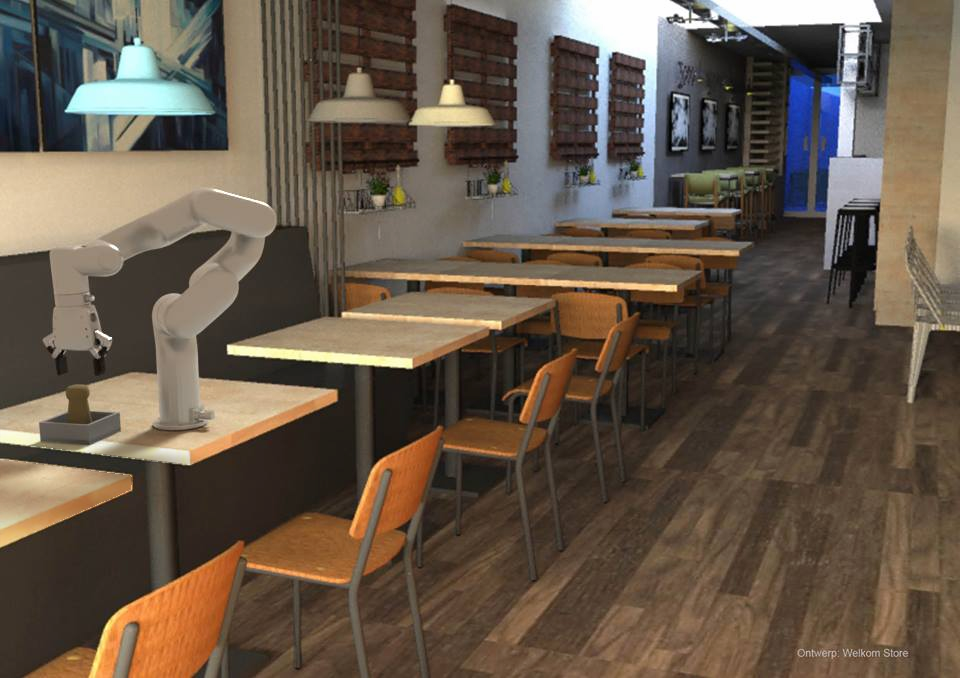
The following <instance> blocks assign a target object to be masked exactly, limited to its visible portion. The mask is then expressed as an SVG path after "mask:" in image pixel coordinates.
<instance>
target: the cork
mask: <svg viewBox="0 0 960 678" xmlns="http://www.w3.org/2000/svg"><path fill="white" fill-rule="evenodd" d="M90 393H91V391H90V388H89V387H88V385H86V384H82V383H81V384H72V385H69V386H67V387H66V389H65V397H66V399H67V400H68V406H67V411H68V418H67V423H72V424H90V423H92V418H91V413H90V411H91V410H90V405H89V404H90V403H89V400H88V399H89V397H90Z"/></svg>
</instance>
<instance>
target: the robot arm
mask: <svg viewBox="0 0 960 678" xmlns="http://www.w3.org/2000/svg"><path fill="white" fill-rule="evenodd" d="M205 226H210V227H214V228H217V229H221V230H224V231H228V232H231V233H230V237H229V238H228V240H227V242H226V243H225V244H224V245H223V246H222V247H221V248H220V249H219V250H218V251H217V252H216V253H215V254H214V255H212V256H211V257H210V258H209V259H207V261H206V262H204V263H203V264H201V266H199V267H198V268H197V269H196V270H195V271H194V272H193V273H192V274H191V276H190V277H189V281H188V288H186V290H184V292H183V293H181V294H180V293H173V292H172V293H168V294H167V293H166V294H165V295H163V296H161V297H159V299H157V301H155V304H154V305H153V308H152V313H151V319H152V327H153V334H154V335H153V336H154V343H155V356H156V357H155V359H156V374H157V375H156V376H157V394H158V411H159V417H157V418H155V419H154V420H153V421H152V424H153V427H154V428H156V429H158V430H163V431H185V430H186V431H187V430H191V429H192V430H193V429H198V428H200V427H203V426H205V425H207V424H208V421H213V420H214V419H215V410H206V409H205V404H204V403H203V404H202V403H201V400H200V399H201V396H200V394H201V393H200V376H199V375H200V373H199V354H198V353H199V352H198V351H199V350H198V342H197V335H199V334H200V333H201V332H202V331H204V330H205V329H206V328H208V326H209V325H211V323H213V322H214V321H215V320H216V319H217V318H219V316H221V315H222V314H223V313H224V312H225V311H226V310H227V309H228V308H229V307H230V306H231V305H232V304H233V303H234V301H235V300H236V298H237V296H238V294H239V287H240V286H239V284H240V283H239V282H240V281H241V280H242V279H243V278H244V277H245V276H246V275H247V274H248V273H249V272H250V271H251V270H252V269H253V268H254V267H255V266H256V264H257V263H258V262H259V260H260V258H261V257H262V254H263V251H264V247H265V240H266V237H268V236H270V235H271V234H272V233H273V232H274V230H275V229H276V227H277V214H276V212H275V210H274V208H272V206H270V205H269V204H267V203H265V202H262V201H260V200H254V199H251V198H247V197H243V196H239V195H236V194H232V193H229V192H226V191H223V190H219V189H217V188H216V189H215V188H211V187H198V188H196V189H193V190H191V191H190V192H188V193H186V194H184V195H181V196H179V197H178V198H176V199H174V200H172V201H170V202H169V203H167V204H165V205H162V206H161V207H158V208H157V209H154V210H153V211H151V212H149V213H147V214H144V215H142V216H140V217H138V218H137V219H135V220H132V221H131V222H128V223H126V224H123V225H121V226H119V227H117V228H115V229H114V230H111V231H109V232H108V233H106V234H103V235H102V236H99V237H97V238H96V239H94V240H92V241H91V242H89V243H88V244H87V245H86V246H80V245H76V244H75V245H72V244H71V245H70V244H69V245H62V246H61V245H59V246H55V247H52V248H51V249H50V251H49V261H50V269H51V270H50V271H51V276H52V277H51V279H52V286H53V287H52V288H53V295H54V304H55V307H54V308H53V312H52V332H51V333H50V334H48V335H46V336H45V337H43V338H42V342H43V344H44V346H45V347H46V350H47V352H49V353H50V354H51V357H52V359H54V363H55V369H56V375H57V376H62V375H64V374H67V373H69V369H68V360H67V355H64V354H65V353H66V352H67V351H79V352H81V351H89V352H90V353H91V355H92V356H94V358H93V359H92V363H93V372H94V376H96V377H97V376H98V377H99V376H101V375H104V374H106V362H105V357H106V356H107V353H108V352H109V351H110V349H111V346H112V343H113V338H112V337H111V336H109V335H107V334H105V333H103V332H102V327H101V322H100V319H99V314H98V311H97V309H96V306H95V304H92V302H95V295H92V294H91V292H90V285H89V277H111V276H114V275H116V274H118V273H119V272H120V271H121V269H122V268H123V266H124V261H126V260H128V259H131V258H132V257H135V256H136V255H138V254H139V255H140V254H141V253H144V252H147V251H151V250H157V249H158V250H159V249H162V248H164V247H168V246H170V245H172V244H174V243H176V242H177V241H179V240H181V239H183V238H185V237H187V236H188V235H190V234H192V233H194V232H195V231H198V230H200V229H201V228H203V227H205Z"/></svg>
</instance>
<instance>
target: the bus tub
mask: <svg viewBox="0 0 960 678" xmlns="http://www.w3.org/2000/svg"><path fill="white" fill-rule="evenodd" d="M90 413H91V418H92V423H90V424H72V423H67V418H68V410H67V411H65V412H63V413H60V414H57V415H54V416H51V417H50V418H47V419H45V420H44V419H43V420H42V421H39V422H38V425H39V438H40V440H39V441H40V442H41V443H56V444H70V445H85V446H86V445H87V446H90V445H93V444H95V443H97V442H99V441H103V440H104V439H106V438H108V437H110V436H113V435H115V434H117V433H118V434H119V432H121V429H122V427H121V426H122V425H121V424H122V423H121V414H120V413H121V412H120V411H106V410H105V411H104V410H90Z"/></svg>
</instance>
